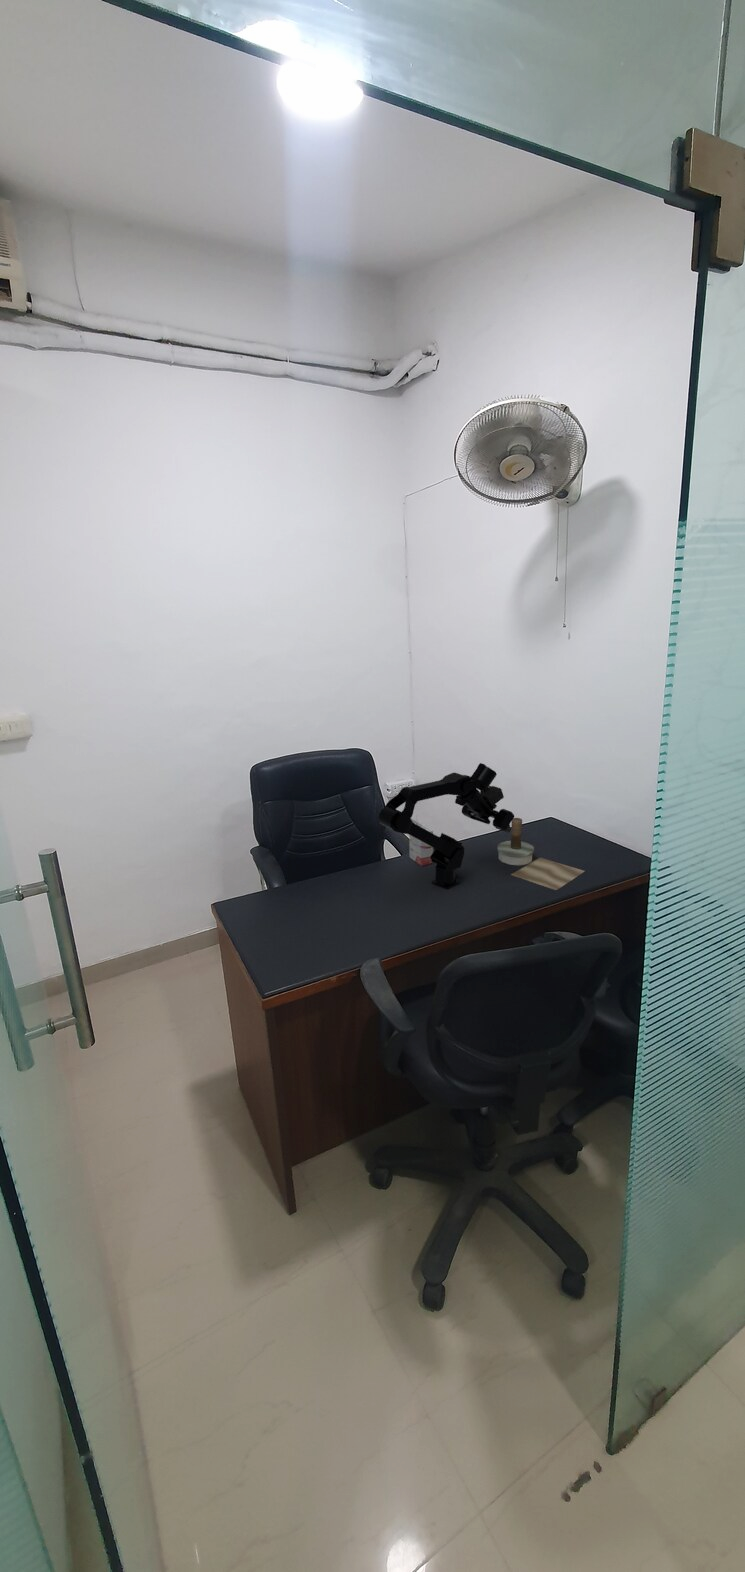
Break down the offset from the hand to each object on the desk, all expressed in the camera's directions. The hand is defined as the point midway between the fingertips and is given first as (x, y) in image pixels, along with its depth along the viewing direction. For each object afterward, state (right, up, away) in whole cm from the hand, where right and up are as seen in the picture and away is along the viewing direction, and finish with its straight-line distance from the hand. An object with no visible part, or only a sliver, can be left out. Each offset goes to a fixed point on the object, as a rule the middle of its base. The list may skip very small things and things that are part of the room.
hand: (499, 827), depth 197 cm
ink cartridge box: (-25, -12, +9) cm, 29 cm away
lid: (+7, -8, +7) cm, 13 cm away
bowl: (+7, -11, +8) cm, 16 cm away
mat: (+15, -15, -3) cm, 21 cm away
